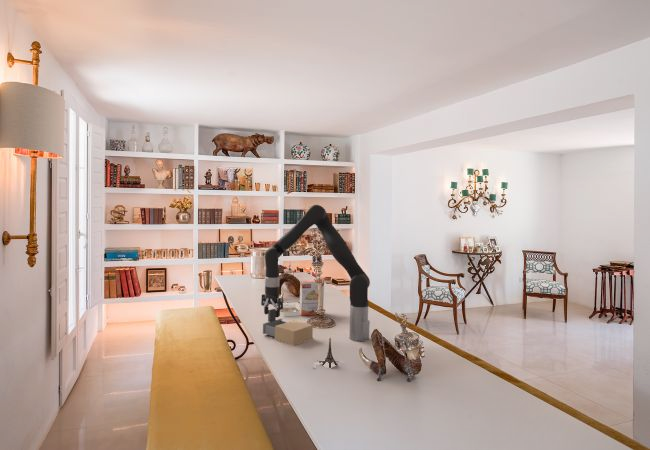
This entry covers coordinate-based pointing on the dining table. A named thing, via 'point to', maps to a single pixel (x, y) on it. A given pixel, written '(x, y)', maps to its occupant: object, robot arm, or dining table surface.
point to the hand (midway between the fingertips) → (271, 315)
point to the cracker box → (309, 297)
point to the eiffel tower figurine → (330, 358)
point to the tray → (271, 323)
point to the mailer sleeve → (293, 332)
